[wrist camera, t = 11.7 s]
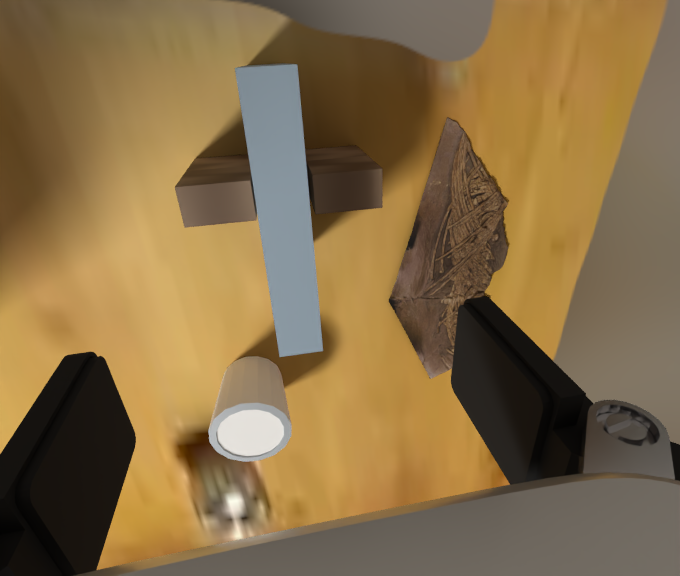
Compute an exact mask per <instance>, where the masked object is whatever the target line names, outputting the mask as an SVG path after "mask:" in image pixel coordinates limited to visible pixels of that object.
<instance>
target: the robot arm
mask: <svg viewBox="0 0 680 576" xmlns="http://www.w3.org/2000/svg"><path fill="white" fill-rule="evenodd" d="M451 384H452V388H453V391H454V393H455V395H456V396H457V398H458V399H459V401H460V403H461V404H462V406H463V408H464V409H465V411H466V413H467V414H468V416H469V418H470V419H471V421H472V422H473V424H474V426H475V427H476V429H477V431H478V432H479V434H480V436H481V437H482V439H483V440H484V442H485V444H486V445H487V447H488V449H489V450H490V452H491V454H492V455H493V457H494V459H495V460H496V462H497V463H498V465H499V467H500V468H501V470H502V472H503V473H504V475H505V477H506V478H507V480H508V481H509V483H510V485H507V486H501V487H496V488H490V489H485V490H480V491H475V492H470V493H465V494H460V495H455V496H450V497H445V498H440V499H435V500H430V501H425V502H420V503H415V504H410V505H405V506H400V507H395V508H390V509H385V510H380V511H375V512H370V513H366V514H361V515H356V516H351V517H346V518H341V519H336V520H331V521H327V522H322V523H317V524H312V525H307V526H302V527H298V528H293V529H288V530H283V531H278V532H273V533H269V534H264V535H259V536H254V537H249V538H245V539H240V540H235V541H230V542H226V543H221V544H216V545H211V546H207V547H202V548H197V549H193V550H188V551H183V552H178V553H174V554H169V555H164V556H160V557H155V558H150V559H145V560H141V561H136V562H131V563H127V564H122V565H118V566H114V567H109V568H105V569H101V570H96V569H97V566H98V563H99V560H100V556H101V553H102V550H103V547H104V544H105V540H106V537H107V534H108V531H109V528H110V525H111V521H112V518H113V515H114V512H115V509H116V506H117V502H118V499H119V496H120V493H121V490H122V486H123V483H124V480H125V477H126V474H127V471H128V467H129V464H130V461H131V458H132V455H133V452H134V448H135V443H136V437H135V432H134V429H133V427H132V424H131V422H130V420H129V417H128V415H127V412H126V410H125V407H124V405H123V402H122V400H121V397H120V395H119V392H118V390H117V388H116V385H115V383H114V380H113V378H112V375H111V373H110V370H109V368H108V365H107V363H106V361H105V359H104V358H103V357H102V356H99V357H97V355H96V354H95V353H94V352H86V353H79V354H72V355H67V356H65V357H64V358H63V360H62V361H61V363H60V364H59V366H58V367H57V369H56V370H55V372H54V373H53V375H52V376H51V378H50V379H49V381H48V382H47V384H46V386H45V387H44V389H43V390H42V392H41V393H40V395H39V396H38V398H37V399H36V401H35V402H34V404H33V405H32V407H31V408H30V410H29V411H28V413H27V415H26V416H25V418H24V419H23V421H22V422H21V424H20V425H19V427H18V428H17V430H16V431H15V433H14V434H13V436H12V437H11V439H10V440H9V442H8V444H7V445H6V447H5V448H4V450H3V451H2V453H1V454H0V576H680V445H679V444H676V443H673V442H670V440H669V435H668V432H667V430H666V428H665V427H664V425H663V424H662V423H661V422H660V421H659V420H658V419H657V418H656V417H654V416H653V415H652V414H651V413H649V412H647V411H646V410H644V409H642V408H640V407H638V406H636V405H633V404H630V403H627V402H623V401H618V400H603V401H598V402H595V403H594V404H593V403H592V402H591V401H590V400H589V399H588V398H587V397H586V396H585V395H586V393H585V392H584V391H582V389H581V388H580V387H579V386H578V385H577V384H576V383H575V382H574V381H573V380H571V378H570V377H568V375H566V373H564V372H563V371H562V370H561V369H560V368H559V367H558V366H557V365H556V364H555V363H554V362H553V361H552V360H551V359H550V358H549V357H548V356H547V355H546V354H545V353H544V352H543V351H542V350H541V349H540V348H539V347H538V346H537V345H536V344H535V343H534V342H533V341H532V340H531V339H530V338H529V337H528V336H527V335H526V334H525V333H524V332H523V331H522V330H521V329H520V328H519V327H518V326H517V325H516V324H515V323H514V322H513V321H512V320H511V319H510V318H509V317H508V316H507V315H506V314H505V313H504V312H503V311H502V310H501V309H500V308H499V307H498V306H497V305H496V304H495V303H494V302H493V301H492V300H491V299H490V298H488V297H486V296H484V297H477V298H470V299H466V300H465V301H464V304H463V305H460V306H459V308H458V315H457V325H456V335H455V345H454V355H453V365H452V375H451Z"/></svg>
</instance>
